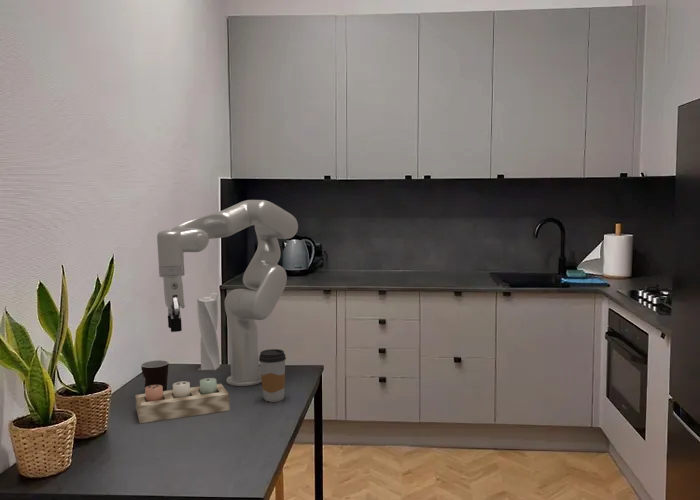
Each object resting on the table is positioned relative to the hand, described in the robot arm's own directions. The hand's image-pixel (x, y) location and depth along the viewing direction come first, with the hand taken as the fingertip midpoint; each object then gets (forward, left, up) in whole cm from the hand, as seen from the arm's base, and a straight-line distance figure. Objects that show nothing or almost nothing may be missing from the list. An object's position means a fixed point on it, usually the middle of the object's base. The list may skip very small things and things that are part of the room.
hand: (175, 328), depth 227 cm
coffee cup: (-28, +9, -24) cm, 38 cm away
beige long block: (0, +8, -23) cm, 25 cm away
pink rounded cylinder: (+8, +8, -20) cm, 23 cm away
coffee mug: (+5, -14, -24) cm, 28 cm away
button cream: (0, +8, -20) cm, 22 cm away
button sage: (-8, +8, -20) cm, 23 cm away
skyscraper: (-16, -36, -24) cm, 46 cm away
